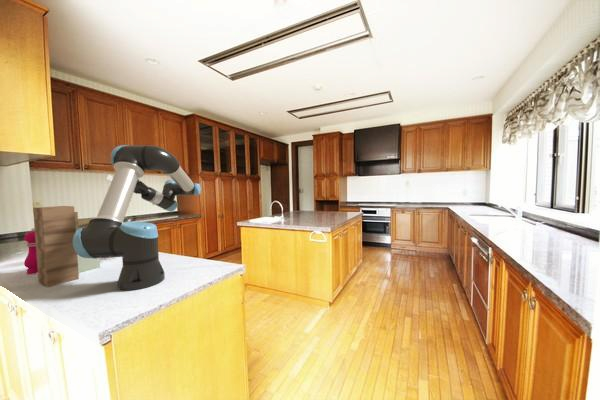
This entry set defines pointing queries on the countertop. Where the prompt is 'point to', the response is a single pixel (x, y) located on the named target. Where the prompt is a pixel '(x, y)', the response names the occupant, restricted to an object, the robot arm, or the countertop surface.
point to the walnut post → (55, 245)
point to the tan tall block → (81, 221)
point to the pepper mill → (31, 253)
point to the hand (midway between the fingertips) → (113, 176)
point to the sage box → (87, 262)
